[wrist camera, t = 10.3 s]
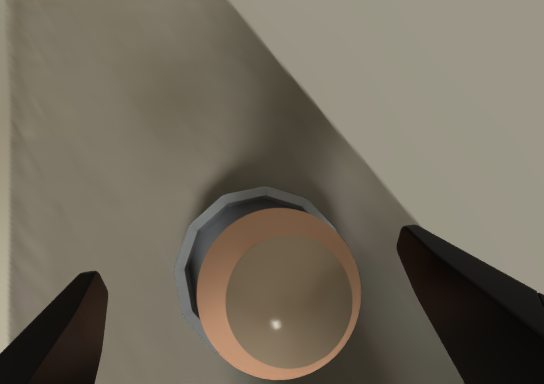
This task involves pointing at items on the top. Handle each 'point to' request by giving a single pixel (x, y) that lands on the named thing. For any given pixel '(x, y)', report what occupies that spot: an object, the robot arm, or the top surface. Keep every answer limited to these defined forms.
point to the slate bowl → (212, 226)
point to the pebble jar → (278, 293)
